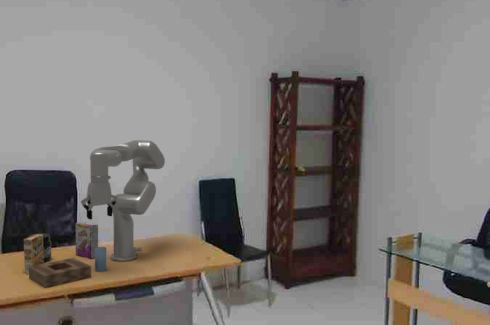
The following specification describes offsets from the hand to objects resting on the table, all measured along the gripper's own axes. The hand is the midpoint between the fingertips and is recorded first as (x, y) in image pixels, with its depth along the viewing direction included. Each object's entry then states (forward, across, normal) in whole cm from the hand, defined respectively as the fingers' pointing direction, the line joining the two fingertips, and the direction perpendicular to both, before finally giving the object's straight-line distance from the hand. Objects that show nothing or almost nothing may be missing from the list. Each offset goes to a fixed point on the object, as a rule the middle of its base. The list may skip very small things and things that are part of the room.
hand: (99, 217), depth 220 cm
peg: (+24, 0, 0) cm, 24 cm away
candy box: (+24, +22, -18) cm, 38 cm away
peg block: (+24, +18, -1) cm, 30 cm away
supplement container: (+24, +14, -31) cm, 42 cm away
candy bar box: (+25, -6, -24) cm, 35 cm away
